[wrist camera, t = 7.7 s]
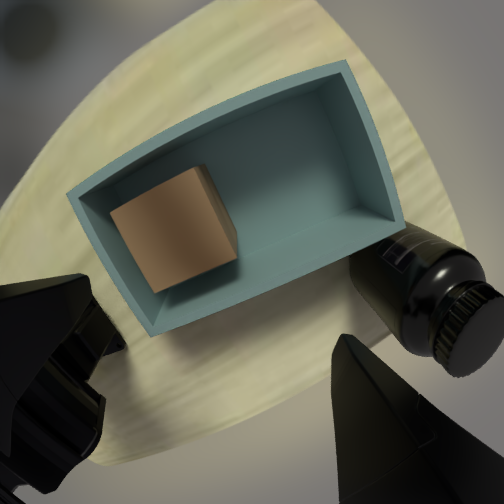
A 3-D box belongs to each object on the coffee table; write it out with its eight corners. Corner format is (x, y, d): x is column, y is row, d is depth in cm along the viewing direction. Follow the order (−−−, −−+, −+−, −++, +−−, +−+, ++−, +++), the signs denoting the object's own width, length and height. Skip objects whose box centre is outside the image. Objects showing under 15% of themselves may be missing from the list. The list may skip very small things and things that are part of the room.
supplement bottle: (424, 274, 22) (514, 351, 11) (359, 308, 23) (428, 414, 12) (410, 202, 20) (527, 254, 9) (335, 236, 21) (426, 327, 9)
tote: (168, 294, 22) (150, 337, 16) (106, 181, 18) (66, 193, 13) (367, 207, 20) (406, 227, 15) (317, 81, 17) (345, 59, 12)
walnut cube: (172, 260, 20) (154, 293, 15) (139, 197, 18) (109, 212, 14) (237, 231, 20) (236, 257, 15) (204, 163, 18) (193, 167, 13)
